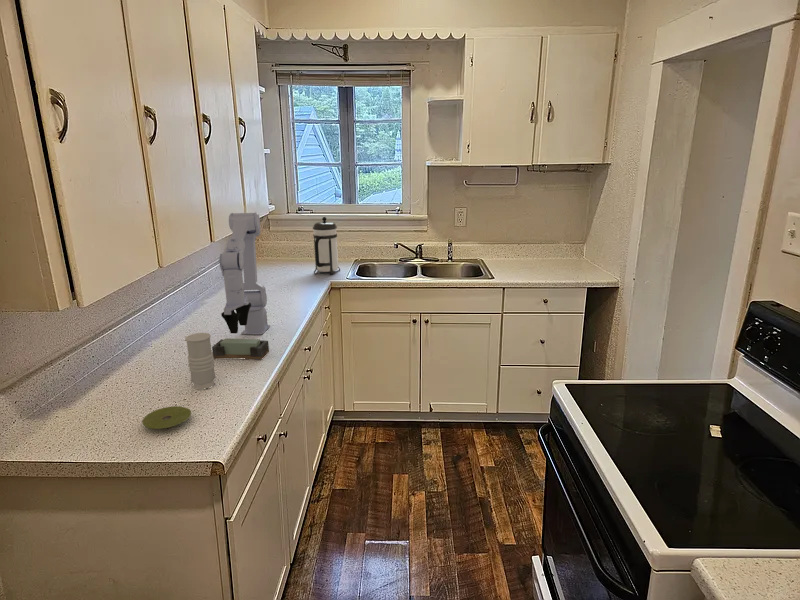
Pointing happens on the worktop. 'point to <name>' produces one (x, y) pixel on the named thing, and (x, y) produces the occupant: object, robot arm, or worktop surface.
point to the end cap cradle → (254, 351)
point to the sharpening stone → (239, 345)
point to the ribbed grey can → (200, 360)
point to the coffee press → (325, 246)
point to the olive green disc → (166, 417)
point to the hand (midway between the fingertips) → (238, 329)
